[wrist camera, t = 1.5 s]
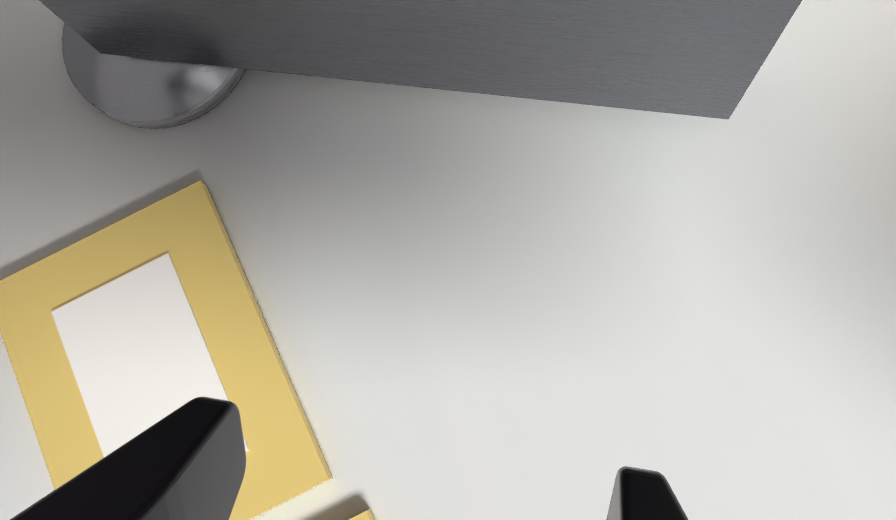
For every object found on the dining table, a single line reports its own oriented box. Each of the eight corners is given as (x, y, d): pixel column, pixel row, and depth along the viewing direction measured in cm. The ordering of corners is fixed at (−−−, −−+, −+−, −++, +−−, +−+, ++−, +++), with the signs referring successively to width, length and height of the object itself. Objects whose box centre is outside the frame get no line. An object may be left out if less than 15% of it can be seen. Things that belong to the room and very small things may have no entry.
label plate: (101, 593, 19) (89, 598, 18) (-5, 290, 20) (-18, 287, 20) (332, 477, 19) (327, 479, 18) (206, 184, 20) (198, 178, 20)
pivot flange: (112, 160, 21) (100, 153, 20) (50, 7, 22) (37, -4, 21) (284, 74, 21) (276, 63, 20) (213, -75, 22) (204, -89, 21)
